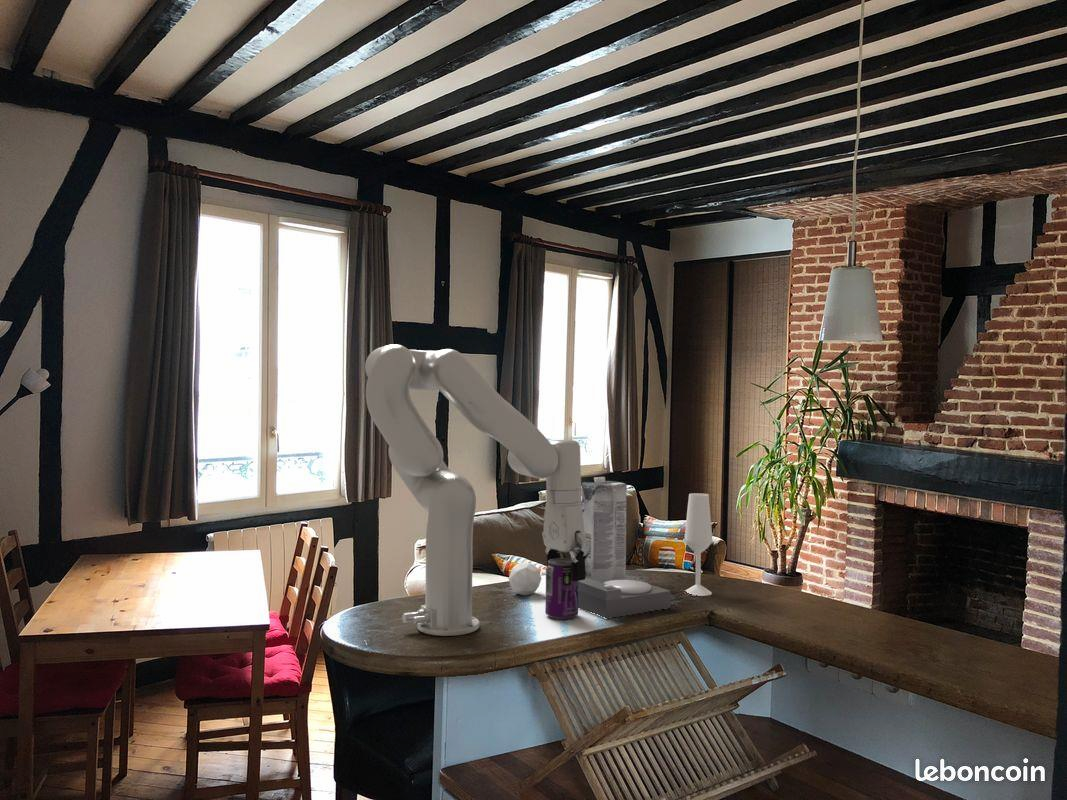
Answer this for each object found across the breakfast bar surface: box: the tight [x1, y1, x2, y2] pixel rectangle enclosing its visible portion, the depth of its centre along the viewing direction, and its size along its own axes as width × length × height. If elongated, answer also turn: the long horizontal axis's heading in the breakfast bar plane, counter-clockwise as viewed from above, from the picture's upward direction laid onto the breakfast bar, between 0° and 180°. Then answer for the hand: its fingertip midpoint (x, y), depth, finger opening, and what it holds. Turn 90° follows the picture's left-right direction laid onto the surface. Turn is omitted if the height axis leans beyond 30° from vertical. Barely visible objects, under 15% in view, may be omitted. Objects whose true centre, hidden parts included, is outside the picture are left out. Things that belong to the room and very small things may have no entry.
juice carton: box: [581, 476, 628, 583], centre depth 205 cm, size 9×10×27 cm
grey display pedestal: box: [578, 577, 672, 618], centre depth 181 cm, size 18×13×7 cm
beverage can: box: [544, 557, 579, 620], centre depth 172 cm, size 7×7×12 cm
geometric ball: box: [508, 561, 542, 596], centre depth 192 cm, size 8×8×8 cm
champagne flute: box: [684, 492, 713, 597], centre depth 195 cm, size 7×7×24 cm
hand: (565, 575), depth 173 cm, fingers open, 9 cm apart
